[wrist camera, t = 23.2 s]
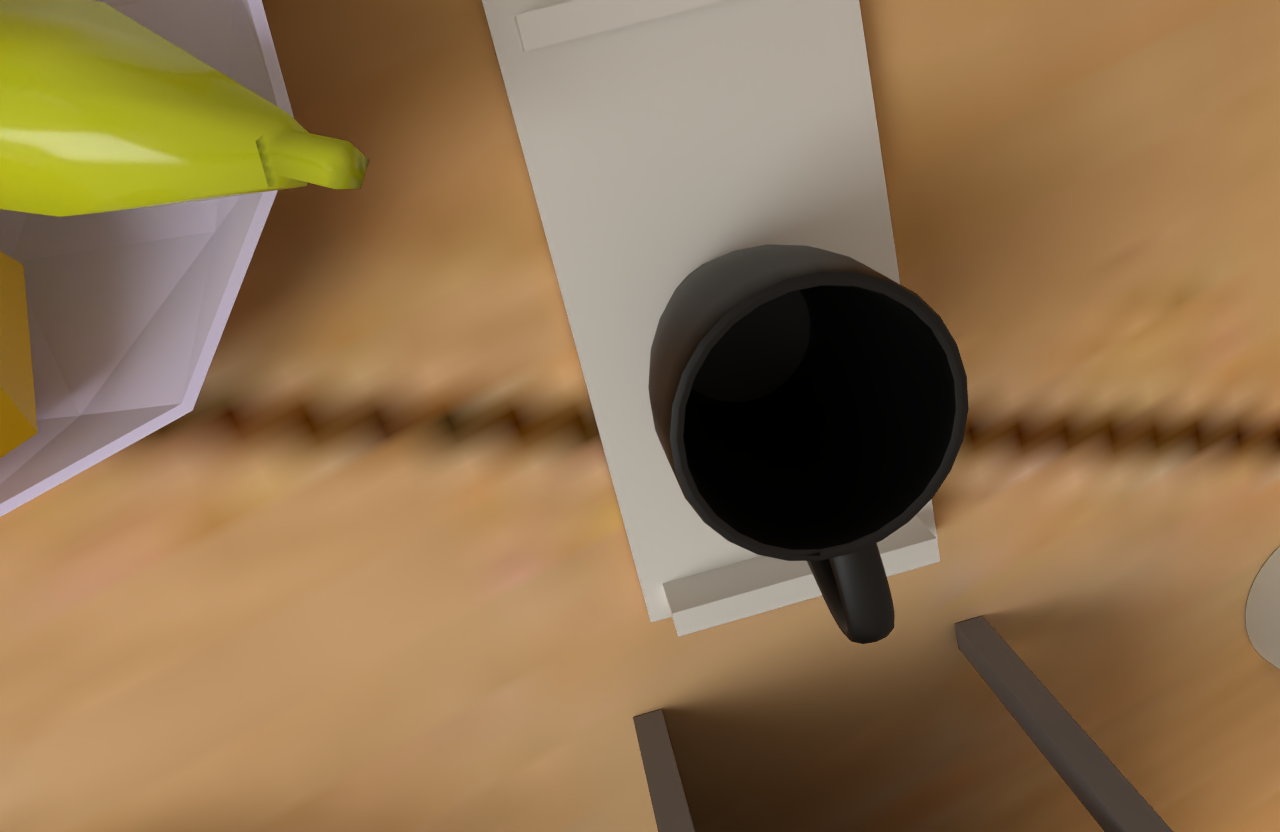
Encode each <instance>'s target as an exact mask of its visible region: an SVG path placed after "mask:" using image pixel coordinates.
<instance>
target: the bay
mask: <svg viewBox="0 0 1280 832" xmlns="http://www.w3.org/2000/svg"><path fill="white" fill-rule="evenodd" d="M955 628H956V634H957V641H958V648H959V649H960V650H961V652H962V653H963V654H964V655H965V657H966V658H967V659H968V660H969V662H970V663H971V664H972V665H973V667H974V668H975V669H976V671H977V672H978V673H979V674H980V676H981V677H982V678H983V679H984V681H985V682H986V683H987V684H988V686H989V687H990V688H991V689H992V691H993V692H994V693H995V694H996V696H997V697H998V698H999V699H1000V701H1001V702H1002V703H1003V704H1004V706H1005V707H1006V708H1007V710H1008V711H1009V712H1010V713H1011V715H1012V716H1013V717H1014V718H1015V720H1016V721H1017V722H1018V723H1019V725H1020V726H1021V727H1022V728H1023V730H1024V731H1025V732H1026V733H1027V735H1028V736H1029V737H1030V738H1031V740H1032V741H1033V742H1034V743H1035V745H1036V746H1037V747H1038V748H1039V750H1040V751H1041V752H1042V754H1043V755H1044V756H1045V757H1046V759H1047V760H1048V761H1049V762H1050V764H1051V765H1052V766H1053V767H1054V769H1055V770H1056V771H1057V772H1058V774H1059V775H1060V776H1061V777H1062V779H1063V780H1064V781H1065V782H1066V784H1067V785H1068V786H1069V787H1070V789H1071V790H1072V791H1073V792H1074V794H1075V795H1076V796H1077V798H1078V799H1079V800H1080V801H1081V803H1082V804H1083V805H1084V806H1085V808H1086V809H1087V810H1088V811H1089V813H1090V814H1091V815H1092V816H1093V818H1094V819H1095V820H1096V821H1097V823H1098V824H1099V825H1100V826H1101V828H1102V829H1103V830H1104V831H1105V832H1173V831H1172V830H1171V829H1170V828H1169V826H1168V825H1167V824H1166V823H1165V822H1164V821H1163V820H1162V819H1161V817H1160V816H1159V815H1158V814H1157V813H1156V812H1155V811H1154V809H1153V808H1152V807H1151V806H1150V805H1149V804H1148V803H1147V802H1146V800H1145V799H1144V798H1143V797H1142V796H1141V795H1140V794H1139V793H1138V791H1137V790H1136V789H1135V788H1134V787H1133V786H1132V785H1131V783H1130V782H1129V781H1128V780H1127V779H1126V778H1125V777H1124V776H1123V774H1122V773H1121V772H1120V771H1119V770H1118V769H1117V768H1116V766H1115V765H1114V764H1113V763H1112V762H1111V761H1110V760H1109V759H1108V757H1107V756H1106V755H1105V754H1104V753H1103V752H1102V751H1101V749H1100V748H1099V747H1098V746H1097V745H1096V744H1095V743H1094V742H1093V740H1092V739H1091V738H1090V737H1089V736H1088V735H1087V734H1086V733H1085V731H1084V730H1083V729H1082V728H1081V727H1080V726H1079V725H1078V723H1077V722H1076V721H1075V720H1074V719H1073V718H1072V717H1071V716H1070V714H1069V713H1068V712H1067V711H1066V710H1065V709H1064V708H1063V706H1062V705H1061V704H1060V703H1059V702H1058V701H1057V700H1056V699H1055V697H1054V696H1053V695H1052V694H1051V693H1050V692H1049V691H1048V689H1047V688H1046V687H1045V686H1044V685H1043V684H1042V683H1041V682H1040V680H1039V679H1038V678H1037V677H1036V676H1035V675H1034V674H1033V672H1032V671H1031V670H1030V669H1029V668H1028V667H1027V666H1026V665H1025V663H1024V662H1023V661H1022V660H1021V659H1020V658H1019V657H1018V656H1017V654H1016V653H1015V652H1014V651H1013V650H1012V649H1011V648H1010V646H1009V645H1008V644H1007V643H1006V642H1005V641H1004V640H1003V639H1002V637H1001V636H1000V635H999V634H998V633H997V632H996V631H995V629H994V628H993V627H992V626H991V625H990V624H989V623H988V622H987V620H986V619H985V618H984V617H983V616H980V617H977V618H973V619H970V620H966V621H963V622H960V623H956V624H955ZM633 719H634V724H635V728H636V733H637V737H638V742H639V746H640V751H641V756H642V760H643V765H644V769H645V774H646V778H647V783H648V787H649V792H650V796H651V801H652V805H653V810H654V814H655V819H656V823H657V828H658V832H695V828H694V825H693V821H692V817H691V814H690V810H689V807H688V803H687V799H686V796H685V792H684V788H683V785H682V781H681V778H680V774H679V770H678V767H677V763H676V760H675V756H674V752H673V749H672V745H671V742H670V738H669V734H668V731H667V727H666V724H665V720H664V716H663V713H662V709H660V710H657V711H653V712H650V713H647V714H643V715H640V716H636V717H633Z"/></svg>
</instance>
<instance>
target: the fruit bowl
mask: <svg viewBox="0 0 1280 832" xmlns="http://www.w3.org/2000/svg"><path fill="white" fill-rule="evenodd" d="M368 162H369V159H368V158H366V157H365V156H364V155H363V154H362V153H361V152H360V151H359V150H358V149H357V148H356V147H355V146H354V145H353V144H351V143H350V142H349V141H345V140H340V139H336V138H331V137H326V136H321V135H316V134H311V133H309V132H308V131H307V130H305V129H304V128H303V127H302V126H301V125H300V124H299V123H298V122H297V121H296V120H295V119H294V116H293V112H292V108H291V105H290V101H289V98H288V94H287V90H286V87H285V83H284V79H283V76H282V72H281V69H280V65H279V61H278V58H277V54H276V51H275V47H274V43H273V40H272V36H271V32H270V29H269V25H268V22H267V18H266V14H265V11H264V7H263V4H262V0H0V517H1V516H3V515H5V514H6V513H8V512H10V511H12V510H14V509H15V508H17V507H19V506H21V505H23V504H24V503H26V502H28V501H30V500H32V499H33V498H35V497H37V496H39V495H41V494H43V493H44V492H46V491H48V490H50V489H52V488H53V487H55V486H57V485H59V484H61V483H62V482H64V481H66V480H68V479H70V478H71V477H73V476H75V475H77V474H79V473H80V472H82V471H84V470H86V469H88V468H89V467H91V466H93V465H95V464H97V463H98V462H100V461H102V460H104V459H106V458H108V457H109V456H111V455H113V454H115V453H117V452H118V451H120V450H122V449H124V448H126V447H127V446H129V445H131V444H133V443H135V442H136V441H138V440H140V439H142V438H144V437H145V436H147V435H149V434H151V433H153V432H154V431H156V430H158V429H160V428H162V427H164V426H165V425H167V424H169V423H171V422H173V421H174V420H176V419H178V418H180V417H182V416H183V415H185V414H187V413H189V412H191V411H192V410H193V408H194V405H195V403H196V400H197V398H198V395H199V393H200V390H201V387H202V385H203V382H204V380H205V377H206V374H207V372H208V369H209V367H210V364H211V362H212V359H213V356H214V354H215V351H216V349H217V346H218V343H219V341H220V338H221V336H222V333H223V331H224V328H225V325H226V323H227V320H228V318H229V315H230V313H231V310H232V307H233V305H234V302H235V300H236V297H237V294H238V292H239V289H240V287H241V284H242V282H243V279H244V276H245V274H246V271H247V269H248V266H249V264H250V261H251V258H252V256H253V253H254V251H255V248H256V245H257V243H258V240H259V238H260V235H261V233H262V230H263V227H264V225H265V222H266V220H267V217H268V215H269V212H270V209H271V207H272V204H273V202H274V199H275V196H276V194H277V191H278V190H282V189H289V188H296V187H304V186H307V183H312V184H316V185H320V186H324V187H328V188H332V189H361V186H362V182H363V179H364V176H365V172H366V169H367V165H368Z"/></svg>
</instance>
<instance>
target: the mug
mask: <svg viewBox="0 0 1280 832" xmlns="http://www.w3.org/2000/svg"><path fill="white" fill-rule="evenodd" d="M648 389H649V397H650V403H651V409H652V415H653V421H654V426H655V431H656V433H657V436H658V438H659V441H660V443H661V445H662V448H663V450H664V452H665V454H666V457H667V459H668V461H669V464H670V466H671V468H672V470H673V473H674V475H675V477H676V479H677V482H678V484H679V486H680V488H681V491H682V493H683V495H684V497H685V499H686V500H687V501H688V503H689V504H690V505H691V506H692V508H693V509H694V510H695V512H696V513H697V514H698V515H699V517H700V518H701V519H702V521H703V522H704V523H705V524H707V525H708V526H709V527H711V528H712V529H713V530H714V531H716V532H717V533H718V534H720V535H721V536H722V537H723V538H725V539H726V540H727V541H729V542H731V543H733V544H736V545H738V546H740V547H742V548H744V549H747V550H749V551H751V552H753V553H755V554H758V555H762V556H767V557H772V558H776V559H781V560H786V561H807V563H808V565H809V567H810V569H811V572H812V574H813V576H814V578H815V580H816V583H817V585H818V587H819V589H820V591H821V593H822V596H823V598H824V600H825V602H826V604H827V606H828V608H829V610H830V612H831V614H832V616H833V617H834V619H835V621H836V623H837V624H838V626H839V628H840V629H841V631H842V632H843V633H844V634H845V635H846V636H847V637H848V638H849V640H850V641H852V642H857V643H861V644H865V643H872V642H877V641H879V640H881V639H883V638H885V637H887V636H888V635H889V633H890V632H891V631H892V630H893V628H894V607H893V602H892V597H891V593H890V588H889V584H888V581H887V577H886V573H885V569H884V566H883V562H882V559H881V556H880V552H879V549H878V546H877V542H880V541H882V540H883V539H885V538H886V537H888V536H889V535H891V534H892V533H894V532H895V531H896V530H898V529H899V528H901V527H902V526H904V525H905V524H907V523H908V522H909V521H910V520H911V519H912V518H913V517H914V516H915V515H916V514H917V513H918V512H919V511H920V510H921V509H922V508H923V507H924V506H925V505H926V504H927V503H928V502H929V501H930V500H931V499H932V498H933V496H934V495H935V493H936V492H937V490H938V489H939V487H940V486H941V484H942V483H943V481H944V480H945V478H946V477H947V475H948V474H949V472H950V471H951V468H952V466H953V463H954V461H955V458H956V456H957V453H958V451H959V448H960V446H961V444H962V441H963V436H964V430H965V425H966V419H967V413H968V394H967V377H966V373H965V370H964V367H963V363H962V360H961V357H960V353H959V350H958V347H957V344H956V342H955V340H954V339H953V337H952V335H951V334H950V332H949V330H948V329H947V327H946V325H945V324H944V322H943V320H942V319H941V317H940V316H939V315H938V314H937V313H936V312H935V311H934V310H933V309H932V308H931V307H930V306H929V305H928V304H927V303H926V302H925V301H924V300H923V299H922V298H921V297H920V296H918V295H917V294H916V293H914V292H912V291H911V290H909V289H907V288H905V287H904V286H902V285H900V284H898V283H897V282H895V281H893V280H891V279H889V278H888V277H886V276H884V275H882V274H881V273H879V272H877V271H875V270H873V269H872V268H870V267H868V266H866V265H864V264H863V263H861V262H859V261H857V260H855V259H853V258H851V257H849V256H845V255H841V254H838V253H834V252H831V251H827V250H823V249H820V248H815V247H810V246H802V245H771V244H766V245H761V246H756V247H751V248H746V249H741V250H735V251H732V252H730V253H728V254H725V255H723V256H721V257H718V258H716V259H713V260H711V261H709V262H707V263H704V264H702V265H701V266H700V267H698V268H697V269H695V270H694V271H693V272H691V273H690V274H689V275H687V277H686V278H685V279H684V280H683V281H682V282H681V283H680V285H679V286H678V287H677V288H676V289H675V291H674V293H673V294H672V296H671V298H670V300H669V302H668V303H667V305H666V308H665V310H664V311H663V313H662V315H661V317H660V319H659V323H658V326H657V329H656V333H655V336H654V339H653V343H652V347H651V353H650V369H649V385H648Z"/></svg>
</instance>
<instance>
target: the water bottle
mask: <svg viewBox="0 0 1280 832" xmlns="http://www.w3.org/2000/svg"><path fill="white" fill-rule="evenodd" d="M1245 621H1246V629H1247V633H1248V636H1249V639H1250V641H1251V643H1252V645H1253V647H1254V648H1255V650H1256V651H1257V652H1258V653H1259V654H1260V655H1261V656H1262V657H1263V658H1264V659H1265V660H1267V661H1268V662H1270V663H1271V664H1272V665H1274V666H1275V667H1277V668H1278V669H1280V547H1279V548H1278V549H1277V550H1276V551H1275V552H1274V553H1273V554H1272V555H1271V556H1270V557H1269V559H1268V560H1267V561H1266V562H1265V564H1264V565H1263V567H1262V568H1261V570H1260V571H1259V573H1258V575H1257V577H1256V578H1255V581H1254V583H1253V585H1252V587H1251V590H1250V593H1249V596H1248V600H1247V605H1246V613H1245Z"/></svg>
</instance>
